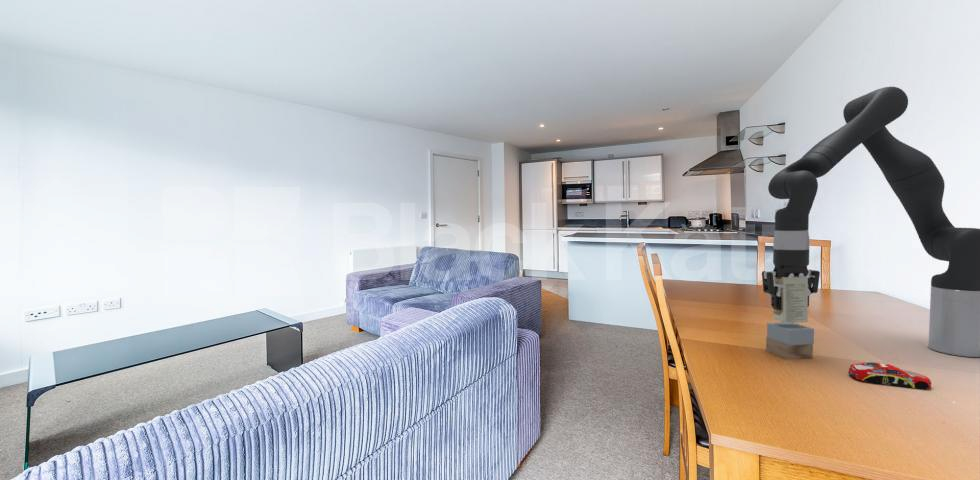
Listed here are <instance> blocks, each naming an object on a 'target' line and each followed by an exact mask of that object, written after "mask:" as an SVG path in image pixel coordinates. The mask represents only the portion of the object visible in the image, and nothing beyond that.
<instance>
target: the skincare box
mask: <svg viewBox="0 0 980 480" xmlns="http://www.w3.org/2000/svg"><path fill="white" fill-rule="evenodd" d="M774 277H775V276H774ZM773 281H776V284H780V285H783V288H782V294H781V296H780V297H781V303H782V306H781V310H775V309H773V319H774V320H776V321H778V322H784V323H788V322H793V323H808V322H809V321H808V320H809V319H808V318H809V317H808V316H809V315H808V314H809V313H808V312H809V311H808V310H809V307H808V277H807V276H806V277H805V276H804V277H798V276H794V277H792V278H787V277H781V279H779V278H778V277H777V279H776V277H775V278H774V279H773ZM777 290H778V287H777Z"/></svg>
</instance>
